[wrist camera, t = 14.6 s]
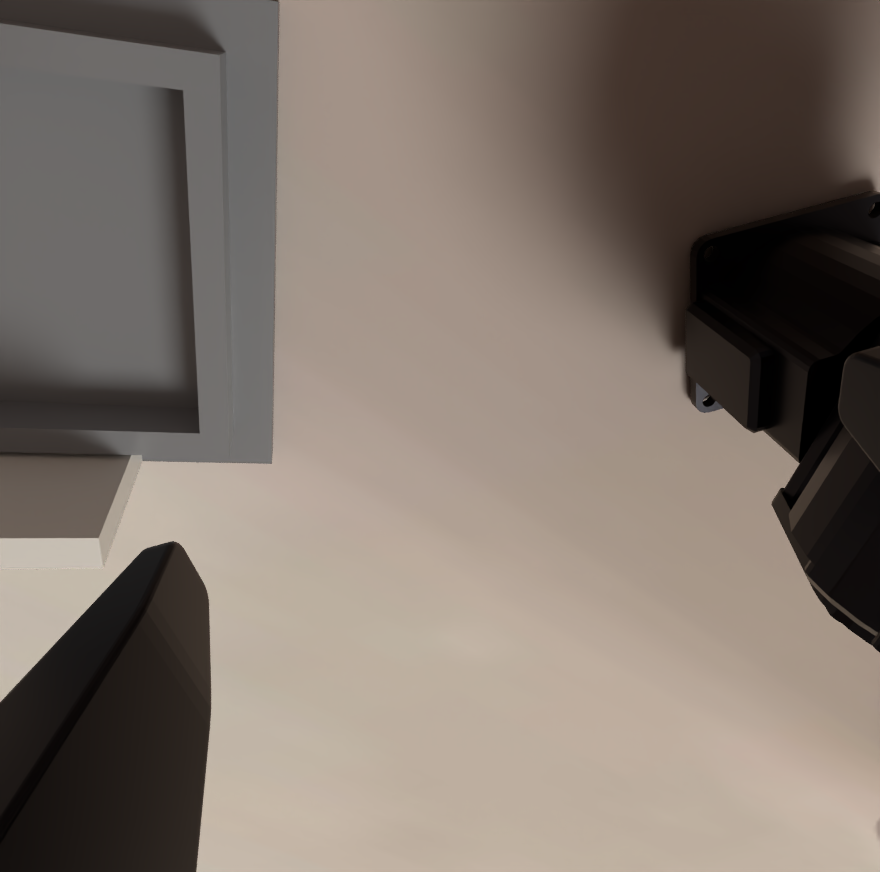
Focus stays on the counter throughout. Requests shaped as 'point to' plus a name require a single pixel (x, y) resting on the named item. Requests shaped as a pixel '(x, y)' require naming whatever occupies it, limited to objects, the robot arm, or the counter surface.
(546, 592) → the counter surface
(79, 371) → the plain holder
